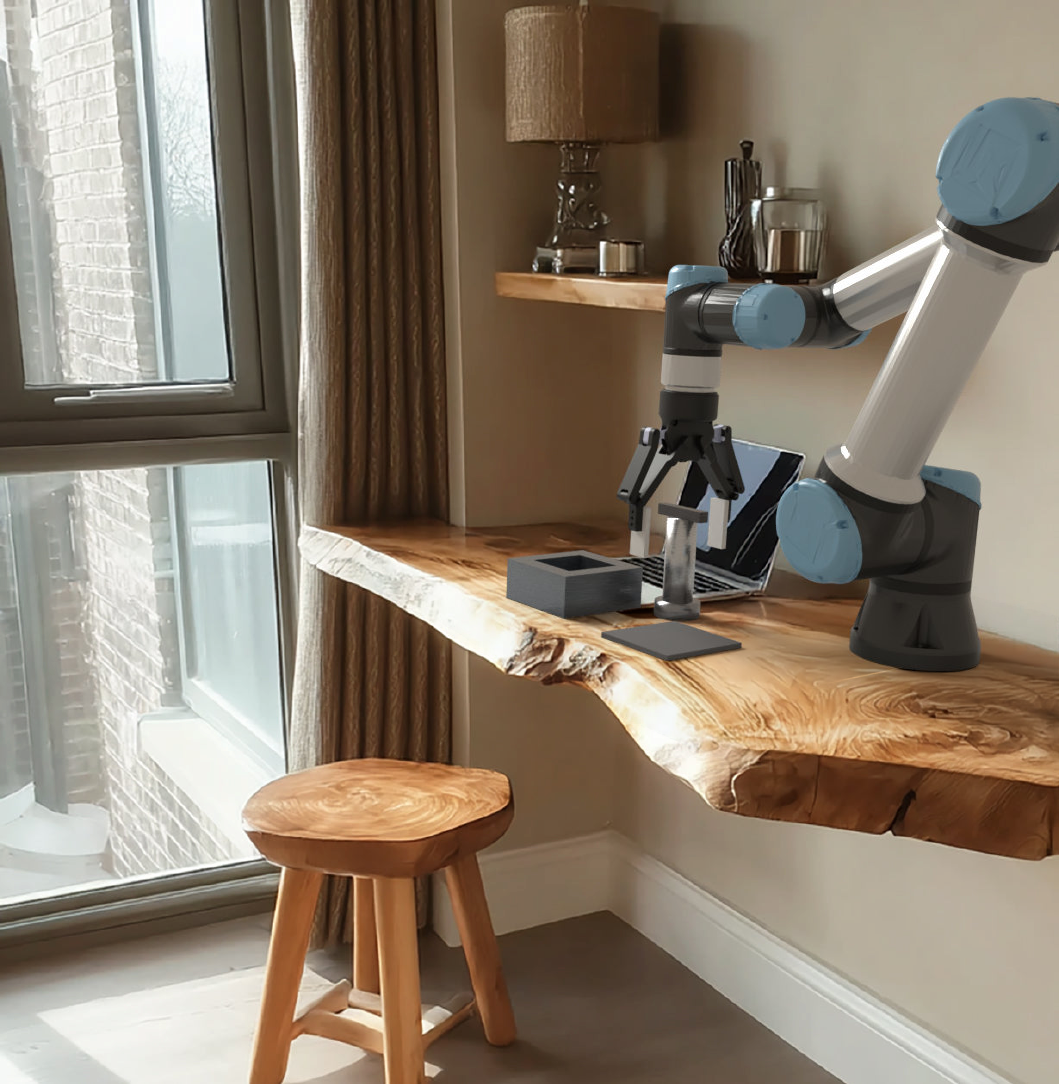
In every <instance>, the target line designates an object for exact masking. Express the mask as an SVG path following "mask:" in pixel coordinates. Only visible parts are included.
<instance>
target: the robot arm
mask: <svg viewBox="0 0 1059 1084" xmlns="http://www.w3.org/2000/svg"><path fill="white" fill-rule="evenodd" d="M935 178H936V179H937V180H938V185H937V186H936V190H937V196H938V198H939V199H940V202H941V205H940V207H939V209H938V211H937V213H936V215H935V218H934V221H935V223H936V224H934V225H932V226H930V227H928V228H926V229H924V230H922V231H920V232H919V233H917V234H915V235H913V236H912V237H910V238H907V239H905V240H904V241H902V242H900V243H898V244H896V245H895V246H893V247H891V248H889V249H887V250H885V251H884V252H881V253H879V254H878V255H876V256H874V257H872V258H870V259H868V260H867V261H865V262H862V263H860V264H859V265H857V266H855V267H854V268H852V269H849V270H848V271H846V272H844V273H842V274H840V275H839V276H837V277H834V278H833V279H831V280H829V281H826V282H825V283H823V284H821V285H817V286H809V285H808V286H807V285H781V284H779V283H767V282H764V283H762V282H760V283H732V282H731V283H730V282H729V281H728V277H729V276H728V275H729V274H728V273H729V272H728V270H727V269H726V268H725V267H723V266H716V265H715V266H714V265H698V264H697V265H695V264H694V265H692V264H691V265H690V264H689V265H688V264H676V265H674V266H672V268H670V270H669V272H668V279H667V286H666V291H665V296H664V301H665V308H664V323H663V324H664V325H663V342H662V359H661V360H662V361H661V374H660V375H661V377H660V383H661V385H663V386H665V387H664V388H662V389H661V391H659V399H658V400H659V403H658V415H659V418H660V419H661V425H660V427H659V428H653V427H648V426H642V427H641V428H640V433H639V439H638V445H637V447H636V449H635V451H634V453H633V456H632V458H631V461H630V463H629V465H628V468H627V469H626V472H625V474H624V476H623V479H622V481H621V483H620V485H619V487H618V490H617V493H616V499H617V500H618V501H619V500H620V501H622V502H624V504H628V507H629V508H628V520H627V522H628V525H627V527H628V530H629V531H630V543H629V544H630V545H629V547H630V548H629V554H630V555H632V556H636V557H639V558H642V559H647V558H649V548H650V531H651V517H652V516H651V515H652V506H647V504H648V502H649V501H650V499H651V498H652V497H653V496H654V493H655V492H656V491H657V489H658V488H659V486H660V485H661V483H662V482H663V480H664V479H665V477H666V476H667V474H669V472H670V470H671V468H673V467H675V466H676V465H678V463H687V462H689V461H691V462H695V463H697V465H698V466H699V468H700V470H701V472H702V473H703V475H704V476H705V478H706V480H707V482H708V483H709V485H710V488H711V489H712V491H713V492H714V494H715V496H716V497H710V503H709V504H710V505H709V514H708V532H707V544H706V546H708V547H710V548H711V547H712V548H716V549H720V550H724V549H726V546H727V533H728V531H727V530H728V523H730V521H731V513H732V503H733V501H738V500H739V498H740V495H742V494H744V493H745V491H746V487H745V484H744V480H743V477H742V473H741V469H740V467H739V464H738V459H737V457H736V453H735V452H736V451H735V449H734V446H733V442H732V441H733V438H732V434H733V432H732V430H733V429H732V427H731V426H730V425H724V424H719V423H714V421H716V420H717V419H718V415H719V400H720V394H719V393H718V391H716V389H717V388H719V387H720V386H721V376H722V375H721V373H722V371H721V370H722V356H723V345H729V346H737V347H745V348H753V349H754V350H760V351H761V350H769V351H771V350H781V349H785V348H797V349H799V348H802V349H803V348H804V349H805V348H806V349H807V348H808V349H810V348H811V349H827V350H841V349H843V348H853V347H856V346H858V345H860V344H862V343H863V342H864V341H865V340H866V339H867V337H868V336H869V334H871V333H872V332H871V331H872V330H873V328H875V327H876V326H879V325H881V324H883V323H885V322H887V321H889V320H891V319H894V318H896V317H898V316H900V315H902V314H904V313H906V314H905V316H904V319H903V320H902V323H901V325H900V327H899V328H898V331H897V333H896V335H895V337H894V340H893V342H892V344H891V346H890V348H889V350H888V352H887V355H886V356H885V359H884V360H883V363H882V365H881V367H880V368H879V371H878V374H877V376H876V378H875V379H874V381H873V384H872V385H871V388H870V389H869V393H868V394H867V396H866V399H865V400H864V402H863V404H862V407H861V410H860V411H859V412H858V413H859V414H858V415H857V418H856V420H855V422H854V424H853V425H852V427H851V428H852V429H851V430H850V432H849V434H848V436H847V438H846V440H845V441H841V442H838V443H836V444H835V443H834V444H832V445H830V446H829V447H828V448H826V450H825V452H824V454H823V456H822V458H821V460H820V462H819V464H818V466H817V469H816V471H815V473H814V475H813V477H812V478H811V477H807V478H803V479H801V480H799V481H797V482H795V483H792V484H791V485H790V486H789V487H787V489H785V491H784V493H783V494H782V496H781V498H780V500H779V502H778V505H777V510H776V514H775V525H776V526H775V527H776V528H775V529H776V536H777V537H778V539H779V541H780V543H779V544H780V548H781V551H782V554H783V555H784V557H785V559H786V561H787V562H788V564H790V566H791V567H792V568H793V570H794V571H796V572H797V574H799V575H800V576H801V577H803V578H805V579H807V580H809V581H811V582H814V583H817V584H837V585H843V584H849V583H852V582H855V581H861V580H866V579H867V580H868V579H869V586H868V590H867V592H866V594H865V597H864V598H863V601H862V604H861V605H860V608H859V611H858V612H857V615H856V619H855V620H854V623H853V625H852V627H851V629H850V632H849V633H850V635H849V644H848V646H849V647H848V648H849V650H850V652H852V653H853V654H854V655H856V656H857V657H859V658H862V659H864V660H867V661H869V662H873V663H876V664H880V665H883V666H888V667H889V666H890V667H893V668H899V669H905V670H913V669H915V671H925V672H954V671H962V670H963V671H964V670H968V669H971V668H975V667H976V666H978V665H979V664H980V660H981V650H982V642H981V639H980V637H979V631H978V625H977V621H976V616H975V612H974V608H973V602H972V596H971V594H972V592H971V591H972V584H973V583H972V582H973V577H974V574H973V573H974V568H975V558H976V557H975V556H976V547H977V537H978V528H979V517H980V511H981V509H982V502H981V491H982V489H981V488H982V485H981V481H980V478H979V477H978V475H976V474H975V473H974V472H971V471H967V470H962V469H955V468H954V469H953V468H948V467H942V466H935V465H927V461H928V459H929V457H930V455H931V453H932V451H933V450H934V447H935V445H936V444H937V442H938V439H939V438H940V436H941V433H942V432H943V430H944V428H945V426H946V424H947V423H948V420H949V418H950V416H951V415H952V413H953V411H954V409H955V407H956V405H957V404H958V401H959V400H960V397H961V395H962V393H963V391H964V389H965V387H967V384H968V382H969V380H970V378H971V377H972V374H973V373H974V370H975V368H976V367H977V364H978V362H979V361H980V359H981V357H982V355H983V353H984V351H985V349H986V347H987V346H988V343H989V342H990V340H991V338H992V335H993V333H994V332H995V331H996V328H997V327H998V324H999V322H1000V320H1001V319H1002V316H1004V312H1005V310H1006V309H1007V307H1008V305H1009V303H1010V301H1011V299H1012V297H1013V295H1014V294H1015V291H1016V290H1017V287H1018V285H1019V284H1020V281H1022V278H1023V276H1024V274H1026V273H1028V272H1030V271H1032V270H1035V269H1038V268H1042V267H1044V266H1046V265H1047V264H1048V263H1049V260H1050V259H1051V257H1052V255H1053V253H1056V252H1058V251H1059V102H1056V101H1055V102H1054V101H1052V100H1046V99H1042V98H1041V97H1017V96H1016V97H1015V96H1014V97H1013V96H1012V97H1009V96H1008V97H1002V98H997V99H992V100H990V101H987V102H986V103H984V104H982V105H979V106H976V107H975V108H973V109H972V110H971V111H970V112H968V113H967V114H965V116H964V117H962V118H961V120H960V121H958V122H957V123H956V124H955V126H954V127H953V129H952V130H951V131H950V133H949V134H948V135H947V137H946V139H945V140H944V142H943V145H942V147H941V149H940V152H939V155H938V159H937V162H936V167H935ZM713 423H714V424H713ZM711 442H712V446H711Z"/></svg>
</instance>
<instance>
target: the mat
mask: <svg viewBox="0 0 1059 1084" xmlns="http://www.w3.org/2000/svg"><path fill="white" fill-rule="evenodd" d="M600 637H601V638H603V639H606V640H609V641H611V642H614V643H617V644H620V645H622V646H625V647H628V648H630V649H633V650H636V651H639V652H642V653H643V654H644V653H645V654H647V655H650V656H652V657H655V658H657V659H661V660H663V661H666V662H667V661H669V662H670V661H675V660H680V659H686V658H690V657H695V656H702V655H706V654H713V653H719V652H724V651H729V650H735V649H742V648H743V647H742V646H743V645H742V644H743V643H742V642H741V641H738V640H735V639H731V638H729V637H726V636H722V635H719V634H717V633H713V632H710V631H707V630H704V629H702V628H699V627H695V626H692V625H689V624H687V623H686V624H685V623H683V622H681V621H674V620H669V621H664V622H659V623H658V622H657V623H651V624H647V625H646V624H645V625H639V626H632V627H626V628H620V629H614V630H613V629H612V630H606V631H601V633H600Z"/></svg>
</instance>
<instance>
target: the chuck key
mask: <svg viewBox="0 0 1059 1084" xmlns="http://www.w3.org/2000/svg"><path fill="white" fill-rule="evenodd" d="M657 505H658V506H657V514H658V515H662V516H666V522H665V523H666V525H665V527H666V528H665V542H664V543H665V544H664V558H663V559H664V561H663V563H664V564H663V580H662V595H659V596H656V597H655V598H654V600H653V601H654V603H653V616H655V617H657V618H659V619H661V620H662V619H663V620H668V621H677V622H686V621H688V622H689V621H694V620H698V619H700V616H701V615H700V614H701V600H700V599H699V598H696V597H695V598H694V584H695V569H696V555H697V554H696V552H697V538H698V524H706V523H708V524H709V511H706V510H701V509H697V508H693V507H687V506H683V505H681V504H680V505H678V504H674V503H669V502H658V503H657Z"/></svg>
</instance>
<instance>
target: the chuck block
mask: <svg viewBox="0 0 1059 1084" xmlns="http://www.w3.org/2000/svg"><path fill="white" fill-rule="evenodd" d="M506 564H507V567H506V595H505V597H506V598H507V599H509V600H511V601H514V602H517V603H520V604H522V605H526V606H528V607H531V608H534V609H536V610H540V611H542V612H544V613H548V614H551V615H553V616H556V617H559V618H561V619H569V618H576V617H582V616H589V615H598V614H605V613H610V612H617V611H619V612H620V611H624V610H632V609H639V608H640V609H641V608H642V607H641V606H642V591H643V590H642V589H643V588H642V587H643V574H644V573H643V572H644V568H643V566H640V565H635V564H633V563H629V562H625V561H621V560H618V559H616V558H611V557H607V556H605V555H601V554H597V553H594V552H591V551H588V550H584V549H581V550H573V551H563V552H555V553H554V552H553V553H545V554H535V555H527V556H519V557H518V556H516V557H508V558H507V563H506Z"/></svg>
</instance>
